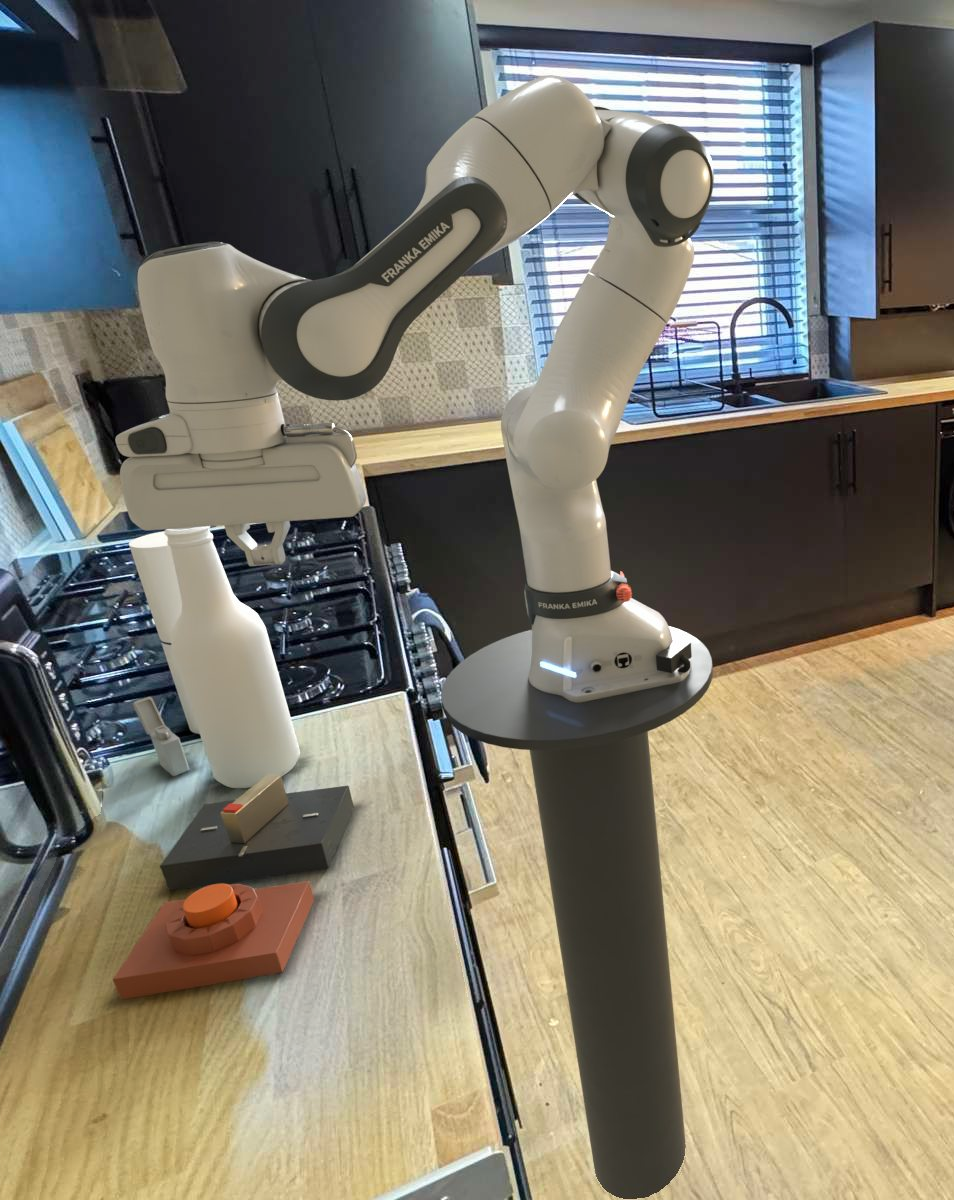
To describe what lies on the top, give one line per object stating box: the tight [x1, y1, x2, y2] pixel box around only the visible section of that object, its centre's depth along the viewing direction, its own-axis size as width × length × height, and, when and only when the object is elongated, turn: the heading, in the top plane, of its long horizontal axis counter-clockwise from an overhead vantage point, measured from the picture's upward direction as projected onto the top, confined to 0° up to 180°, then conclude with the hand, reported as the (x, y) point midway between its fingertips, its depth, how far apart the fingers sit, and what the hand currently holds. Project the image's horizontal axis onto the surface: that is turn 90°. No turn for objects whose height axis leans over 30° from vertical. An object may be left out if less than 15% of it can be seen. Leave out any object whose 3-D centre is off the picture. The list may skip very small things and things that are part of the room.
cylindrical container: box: [128, 530, 200, 735], centre depth 106 cm, size 7×7×25 cm
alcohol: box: [164, 526, 301, 789], centre depth 94 cm, size 9×9×30 cm
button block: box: [112, 880, 315, 1000], centre depth 73 cm, size 12×9×4 cm
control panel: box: [159, 785, 355, 892], centre depth 86 cm, size 14×11×3 cm
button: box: [183, 883, 238, 929], centre depth 72 cm, size 4×4×2 cm
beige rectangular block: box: [221, 775, 289, 843], centre depth 84 cm, size 6×2×4 cm, turn 174°
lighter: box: [132, 696, 190, 777], centre depth 99 cm, size 7×2×8 cm, turn 53°
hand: (268, 563), depth 86 cm, fingers closed
